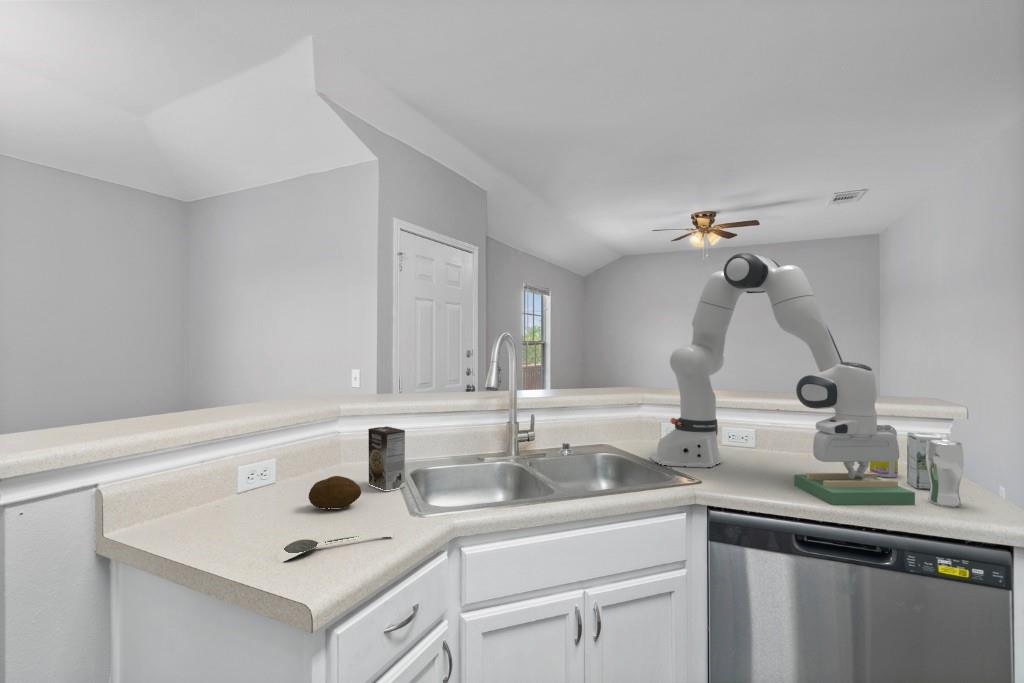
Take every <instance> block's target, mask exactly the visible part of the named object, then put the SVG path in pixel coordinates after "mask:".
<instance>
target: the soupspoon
mask: <svg viewBox="0 0 1024 683" xmlns="http://www.w3.org/2000/svg"><path fill="white" fill-rule="evenodd" d="M357 536H358V537H359V536H360V535H357ZM357 536H350V537H342V538H336V539H335V538H334V539H331V540H326V541H327V542H332V541H338V540H343V539H349V538H354V537H357ZM326 541H324V542H325V543H326ZM318 543H319V542H318V541H316V540H313V539H299V540H296V541H292V542H291V543H289V544H287V545H286V546H284V547H285V548H284V547H283V548H284V550H285V551H286V552H288V553H299V552H304V551H307V550H310V549H312V548H314V547H316V546H317V544H318ZM316 548H317V547H316ZM314 549H315V548H314ZM312 550H313V549H312ZM310 551H311V550H310Z"/></svg>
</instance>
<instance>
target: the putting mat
mask: <svg viewBox="0 0 1024 683" xmlns="http://www.w3.org/2000/svg"><path fill="white" fill-rule="evenodd" d="M793 476H794V480H793V482H794V483H793V484H794V486H795V487H797V488H798V489H801V490H802V491H805V492H806V493H808V494H811V495H812V496H814V497H816V498H818V499H819V500H822V501H823V502H826V503H828V504H830V505H832V506H862V505H863V506H870V505H875V506H878V505H879V506H882V505H883V506H884V505H887V506H889V505H891V506H904V505H909V506H911V504H915V505H916V492H914V491H912V490H910V489H907V488H905V487H902V486H900V485H899V481H898V480H892V479H891V480H889V479H888V480H885V479H880V478H878V476H877V474H876V473H870V472H864V479H865V478H868V477H869V478H874V479H876V480H863V479H851V478H849V477H848V472H808V473H807V472H806V474H794V475H793Z"/></svg>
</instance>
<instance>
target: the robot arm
mask: <svg viewBox="0 0 1024 683" xmlns="http://www.w3.org/2000/svg"><path fill="white" fill-rule="evenodd" d="M744 293H746V294H763V293H765V294H766V295H767V296H768V298H769V302H770V305H771V309H772V312H773V316H774V319H775V321H776V322H777V325H778V326H779V328H780V329H782V330H783V331H785V332H786V333H788V334H791V335H792V336H794V337H796V338H798V339H800V340H801V341H803V342H804V343H805V344H806V345H807V347H809V349H810V351H811V354H812V357H813V359H814V361H815V363H816V366H817V368H818V371H819V372H816V373H812V374H808V375H805V376H803V377H802V378H800V379H799V380H798V382H797V384H796V387H795V388H796V390H795V391H796V396H797V399H798V400H799V401H800V403H801V405H803V406H805V407H807V408H810V409H813V410H814V409H815V410H824V409H825V410H826V409H834V413H835V414H834V416H832V417H829V418H825V419H823V420H820V421H818V422H816V423H815V430H816V431H817V432H816V433H815V434H814V435H813V436H814V437H813V445H812V453H813V454H812V455H813V457H814V458H815V459H816V460H817V461H820V462H822V463H823V462H824V463H843V466H844V467H845V469H846V470H847V471H848V472H847V473H848V477H849V478H851V479H864V473H866V471H867V469H868V468H869V467H870V462H896V461H897V460H899V459H900V447H899V442H898V433H897V429H895V428H894V427H893V426H891V425H889V424H884V425H883V424H881V425H880V424H877V423H878V422H877V421H878V418H877V417H878V413H877V411H876V405H875V404H876V400H877V396H878V395H877V394H878V393H877V383H876V377H875V372H874V370H873V369H872V368H871V367H870V366H868V365H867V364H862V363H860V362H859V363H858V362H849V361H843V359H842V357H841V356H842V355H841V353H840V352H839V349H838V347H837V345H836V342H835V340H834V337H833V336H832V334H831V331H830V330H829V327H828V325H827V324H826V322H825V320H824V319H823V315H822V314H821V311H820V308H819V306H818V302H817V300H816V296H815V294H814V290H813V288H812V286H811V284H810V282H809V280H808V277H807V276H806V273H805V272H803V270H802V268H801V267H800V266H797V265H794V264H793V265H792V264H787V265H782V266H780V265H779V264H778V263H777V262H776V261H775V260H773V259H769V258H767V257H766V256H764V255H763V256H762V255H759V254H758V255H757V254H752V253H750V252H741V253H737V254H734V255H732V256H731V257H730V258H729V259H728V260H727V261H726V262H725V264H724V268H723V270H718V271H715V272H713V273H712V274H710V276H709V278H708V280H707V281H706V282H705V286H704V288H703V290H702V292H701V294H700V297H699V300H698V303H697V307H696V309H695V312H694V315H693V319H692V322H691V326H692V330H693V331H692V341H691V344H690V343H689V344H684V345H681V346H680V347H678V348H676V349H675V350H674V351H672V353H671V355H670V358H669V365H670V368H671V371H672V372H673V373H674V374H675V378H676V381H677V385H678V391H679V397H680V400H679V401H680V417H679V418H677V419H676V418H675V417H671V419H670V423H671V424H672V425H674V429H672V430H671V431H670V432H668V433H667V434H666V435H665V436H663V437H661V438H660V439H659V441H658V444H657V450H656V453H655V452H653V453H650V457H649V458H650V460H651V461H652V460H653V461H652V462H654V461H655V462H657V463H660V464H663V465H662V466H664V465H667V467H684V466H686V468H687V467H688V468H707V467H711V468H713V467H715V466H717V465H716V464H718V465H720V464H721V463H722V462H721V461H722V458H721V456H720V451H719V445H718V438H717V436H718V430H719V428H718V419H717V416H716V415H717V412H716V410H717V404H716V402H717V399H716V393H715V392H714V390H713V387H712V384H711V383H712V382H711V378H710V376H712V375H714V374H717V372H718V371H720V370H721V369H722V368H723V365H724V363H725V358H724V351H725V350H724V349H725V345H726V344H725V343H726V337H727V332H728V329H729V327H730V326H729V325H730V323H731V320H732V317H733V314H734V312H735V308H736V305H737V302H738V300H739V298H740V296H741V295H742V294H744ZM655 462H654V463H655ZM657 463H656V464H657ZM719 463H720V464H719ZM855 463H857V465H858V467H857V469H856V470H855V469H854V466H855ZM660 464H659V465H660ZM712 466H713V467H712Z"/></svg>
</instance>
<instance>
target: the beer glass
mask: <svg viewBox="0 0 1024 683" xmlns="http://www.w3.org/2000/svg"><path fill="white" fill-rule="evenodd" d="M964 461H965V460H964V451H963V443H962V442H959V441H953V440H948V439H947V440H946V439H942V440H936V439H931V440H927V443H926V467H927V472H928V476H929V481H930V490H929V494H928V498H927V501H928V502H929V503H931V504H933V503H934V505H936V504H938V506H940V505H943V506H942V507H946V506H953V507H952V508H957V507H956V506H961V507H962V501H961V496H960V486H961V480H962V476H963V472H964V465H965V463H964ZM954 506H955V507H954Z"/></svg>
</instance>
